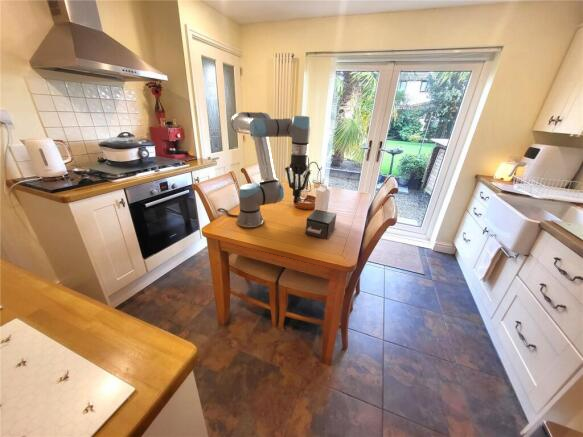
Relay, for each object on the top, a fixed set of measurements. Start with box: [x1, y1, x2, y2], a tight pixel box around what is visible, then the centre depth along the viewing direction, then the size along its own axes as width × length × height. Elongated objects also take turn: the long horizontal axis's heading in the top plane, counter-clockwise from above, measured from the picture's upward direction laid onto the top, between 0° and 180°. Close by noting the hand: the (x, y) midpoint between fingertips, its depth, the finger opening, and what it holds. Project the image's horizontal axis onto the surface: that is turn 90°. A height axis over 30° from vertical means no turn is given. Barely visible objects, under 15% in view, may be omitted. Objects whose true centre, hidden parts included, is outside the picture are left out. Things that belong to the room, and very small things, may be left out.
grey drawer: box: [305, 219, 327, 239], centre depth 130 cm, size 18×11×8 cm, turn 155°
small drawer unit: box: [306, 209, 337, 240], centre depth 133 cm, size 15×13×10 cm
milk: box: [314, 183, 331, 212], centre depth 147 cm, size 6×6×22 cm
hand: (296, 202), depth 115 cm, fingers closed
